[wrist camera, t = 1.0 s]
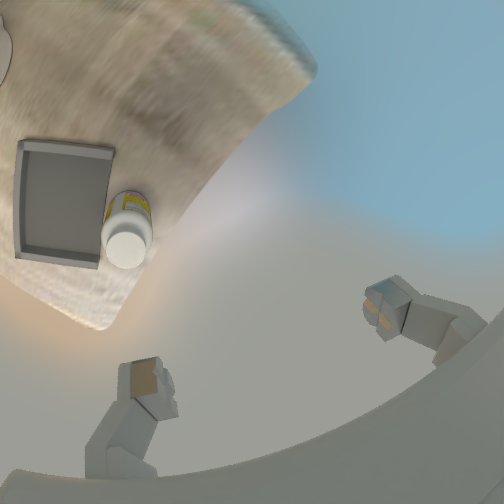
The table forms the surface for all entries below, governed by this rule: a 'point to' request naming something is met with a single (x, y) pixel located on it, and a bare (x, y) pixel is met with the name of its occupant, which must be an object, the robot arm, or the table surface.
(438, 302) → the robot arm
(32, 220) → the tray
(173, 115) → the table surface
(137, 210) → the supplement bottle
